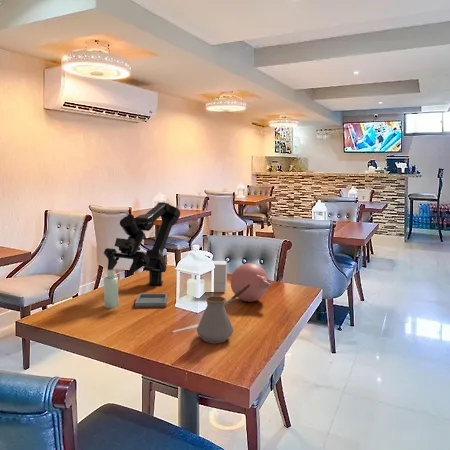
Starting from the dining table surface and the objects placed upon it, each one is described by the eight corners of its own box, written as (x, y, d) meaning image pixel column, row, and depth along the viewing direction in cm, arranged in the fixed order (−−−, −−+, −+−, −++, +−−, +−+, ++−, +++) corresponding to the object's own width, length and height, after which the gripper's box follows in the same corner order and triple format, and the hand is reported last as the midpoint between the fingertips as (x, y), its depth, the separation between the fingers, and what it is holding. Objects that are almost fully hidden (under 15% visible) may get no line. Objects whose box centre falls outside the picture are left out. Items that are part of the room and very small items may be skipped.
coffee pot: (212, 349, 122) (213, 300, 119) (189, 337, 130) (189, 291, 128) (262, 331, 136) (263, 287, 134) (238, 321, 144) (239, 280, 142)
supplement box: (226, 288, 184) (227, 260, 182) (225, 293, 176) (226, 264, 174) (210, 287, 184) (211, 260, 182) (208, 292, 177) (208, 263, 175)
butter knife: (204, 325, 139) (199, 323, 142) (139, 342, 125) (134, 339, 127) (204, 327, 139) (199, 324, 142) (139, 344, 125) (134, 340, 127)
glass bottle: (105, 303, 160) (105, 268, 158) (119, 303, 160) (119, 268, 158) (103, 308, 154) (102, 272, 152) (117, 308, 155) (116, 272, 153)
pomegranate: (252, 313, 153) (253, 272, 151) (222, 298, 169) (223, 261, 167) (283, 306, 161) (285, 268, 159) (252, 292, 178) (253, 258, 176)
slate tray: (139, 297, 168) (139, 293, 167) (167, 297, 168) (167, 293, 168) (135, 307, 156) (135, 302, 156) (165, 307, 157) (165, 302, 157)
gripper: (106, 228, 166) (88, 260, 157) (146, 231, 159) (130, 265, 151) (117, 244, 174) (101, 275, 165) (156, 248, 168) (141, 281, 159)
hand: (118, 274), depth 160 cm, fingers open, 9 cm apart
